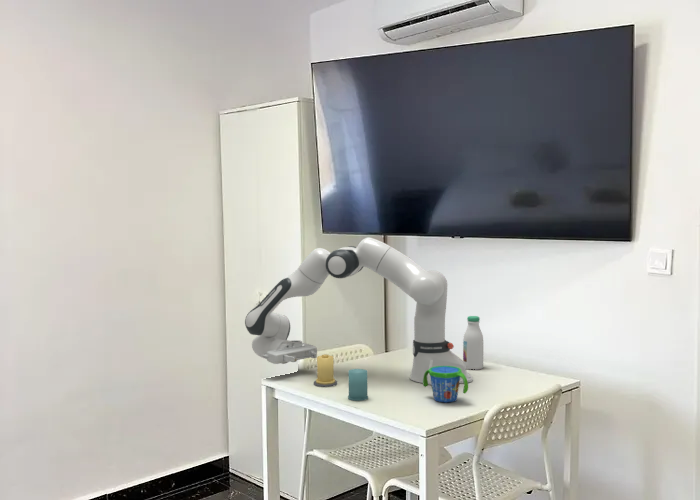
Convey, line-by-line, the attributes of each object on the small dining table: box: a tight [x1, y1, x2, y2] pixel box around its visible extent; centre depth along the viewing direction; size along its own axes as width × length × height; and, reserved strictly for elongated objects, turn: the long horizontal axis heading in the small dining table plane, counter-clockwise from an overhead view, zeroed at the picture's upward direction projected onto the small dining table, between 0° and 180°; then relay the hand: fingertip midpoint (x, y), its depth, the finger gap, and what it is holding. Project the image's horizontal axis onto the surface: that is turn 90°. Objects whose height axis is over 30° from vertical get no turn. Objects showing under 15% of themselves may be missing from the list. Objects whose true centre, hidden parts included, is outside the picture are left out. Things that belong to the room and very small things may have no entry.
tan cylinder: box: [315, 353, 336, 385], centre depth 248 cm, size 7×7×10 cm
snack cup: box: [422, 366, 469, 403], centre depth 226 cm, size 16×10×10 cm
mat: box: [313, 379, 338, 388], centre depth 248 cm, size 8×8×1 cm
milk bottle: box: [462, 315, 484, 371], centre depth 269 cm, size 8×8×20 cm
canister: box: [347, 368, 369, 402], centre depth 229 cm, size 7×7×9 cm
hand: (305, 357), depth 255 cm, fingers open, 8 cm apart
